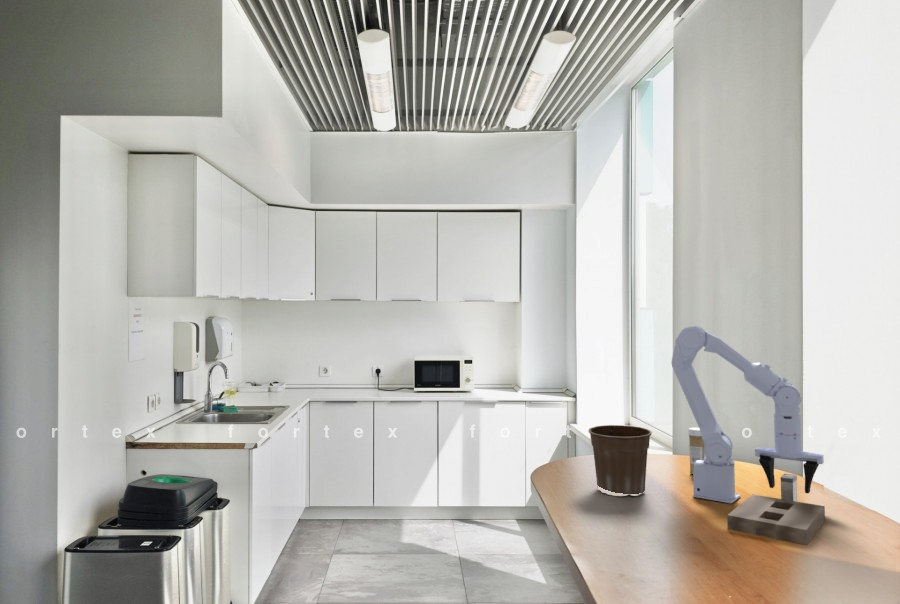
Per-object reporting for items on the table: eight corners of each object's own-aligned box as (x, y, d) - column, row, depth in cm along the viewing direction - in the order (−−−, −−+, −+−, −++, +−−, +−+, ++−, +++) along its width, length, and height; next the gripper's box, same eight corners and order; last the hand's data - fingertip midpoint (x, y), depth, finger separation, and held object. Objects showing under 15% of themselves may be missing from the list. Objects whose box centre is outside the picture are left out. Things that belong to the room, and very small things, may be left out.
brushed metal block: (781, 506, 147) (780, 477, 147) (785, 502, 150) (784, 473, 150) (793, 508, 145) (792, 478, 145) (797, 504, 148) (796, 475, 148)
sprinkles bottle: (709, 475, 176) (708, 428, 177) (700, 477, 174) (699, 430, 174) (695, 472, 180) (694, 426, 181) (686, 474, 178) (685, 428, 178)
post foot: (727, 529, 131) (727, 515, 131) (752, 506, 146) (752, 494, 146) (806, 545, 121) (806, 530, 121) (825, 519, 137) (824, 506, 137)
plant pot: (643, 504, 150) (642, 438, 150) (580, 494, 158) (579, 432, 159) (659, 488, 163) (658, 428, 164) (600, 480, 172) (599, 423, 172)
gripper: (750, 432, 150) (752, 488, 149) (818, 439, 140) (821, 498, 140) (758, 428, 155) (760, 482, 154) (824, 434, 146) (826, 491, 145)
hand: (789, 489), depth 147 cm, fingers open, 7 cm apart
